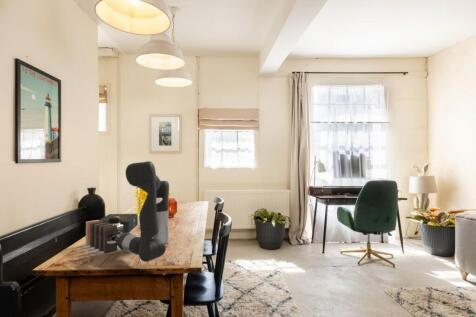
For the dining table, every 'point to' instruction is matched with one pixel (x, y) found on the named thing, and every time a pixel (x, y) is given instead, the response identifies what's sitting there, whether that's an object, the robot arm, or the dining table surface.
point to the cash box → (124, 221)
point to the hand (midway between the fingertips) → (111, 236)
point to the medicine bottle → (116, 222)
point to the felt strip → (98, 250)
